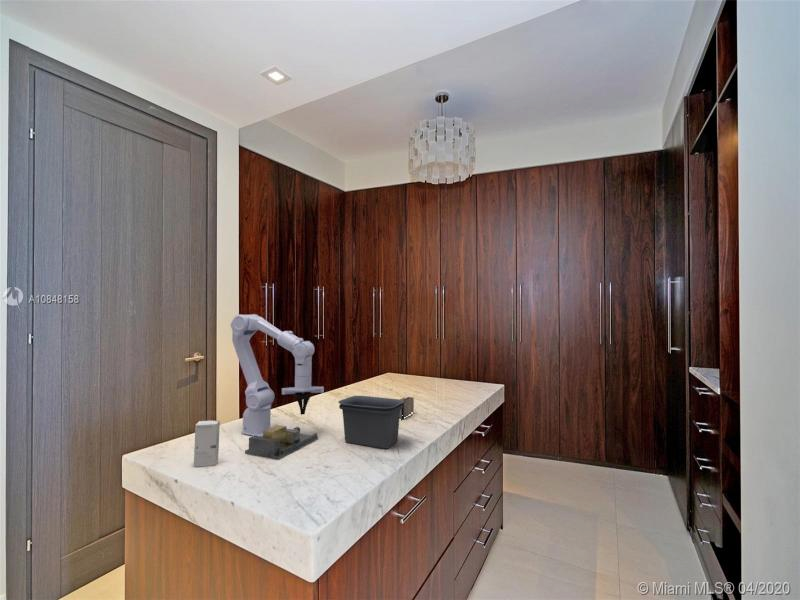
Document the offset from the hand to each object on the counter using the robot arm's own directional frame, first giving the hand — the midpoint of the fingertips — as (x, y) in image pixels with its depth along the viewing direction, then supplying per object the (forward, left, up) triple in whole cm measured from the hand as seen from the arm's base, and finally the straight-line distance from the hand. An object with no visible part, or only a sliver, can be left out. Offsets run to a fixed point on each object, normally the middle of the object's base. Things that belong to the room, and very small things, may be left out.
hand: (302, 413), depth 144 cm
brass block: (0, -15, -7) cm, 16 cm away
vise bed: (0, -10, -8) cm, 13 cm away
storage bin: (+25, +6, -9) cm, 27 cm away
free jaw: (0, -7, -7) cm, 10 cm away
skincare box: (-11, -31, -9) cm, 34 cm away
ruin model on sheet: (+24, +39, -9) cm, 47 cm away
